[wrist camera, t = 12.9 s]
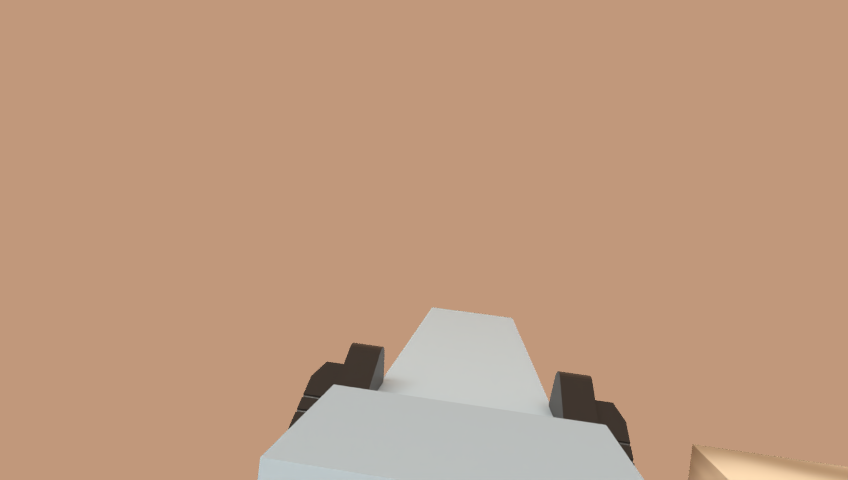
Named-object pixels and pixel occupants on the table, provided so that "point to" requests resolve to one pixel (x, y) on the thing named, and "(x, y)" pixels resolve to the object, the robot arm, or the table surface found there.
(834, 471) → the tall brown wood-grain block
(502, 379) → the pale blue-grey block
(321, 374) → the robot arm
